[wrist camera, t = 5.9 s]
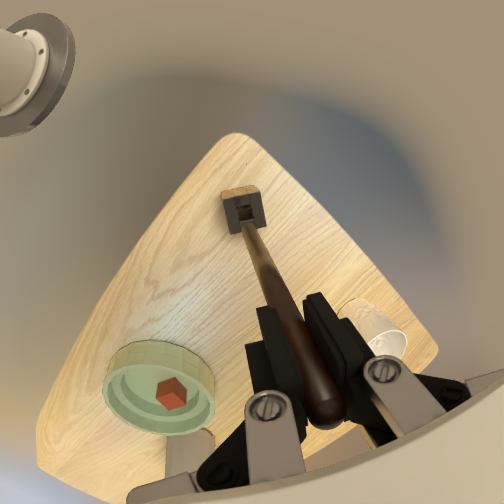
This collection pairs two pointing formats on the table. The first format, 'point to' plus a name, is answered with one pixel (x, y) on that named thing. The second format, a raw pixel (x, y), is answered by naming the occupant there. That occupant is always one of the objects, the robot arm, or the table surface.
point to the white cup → (375, 327)
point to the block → (171, 394)
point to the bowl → (145, 386)
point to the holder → (251, 215)
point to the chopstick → (298, 339)
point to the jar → (187, 452)
